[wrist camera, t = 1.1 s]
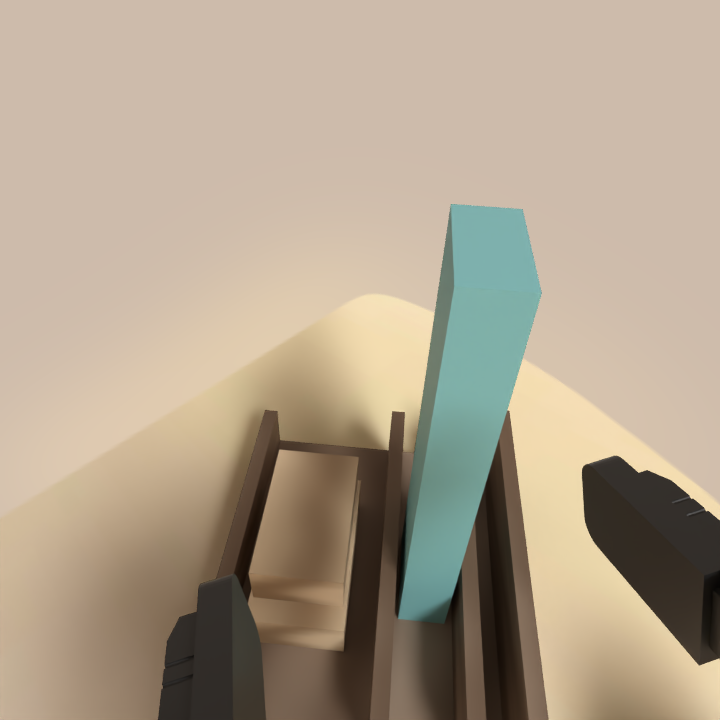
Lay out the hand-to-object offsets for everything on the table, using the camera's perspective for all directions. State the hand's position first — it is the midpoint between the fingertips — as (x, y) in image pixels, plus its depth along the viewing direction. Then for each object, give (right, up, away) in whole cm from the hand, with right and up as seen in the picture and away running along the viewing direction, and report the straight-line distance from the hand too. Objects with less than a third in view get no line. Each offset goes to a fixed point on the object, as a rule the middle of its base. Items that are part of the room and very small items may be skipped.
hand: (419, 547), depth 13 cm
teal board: (+2, -8, +21) cm, 22 cm away
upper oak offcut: (-4, -6, +20) cm, 21 cm away
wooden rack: (-1, -9, +22) cm, 24 cm away
